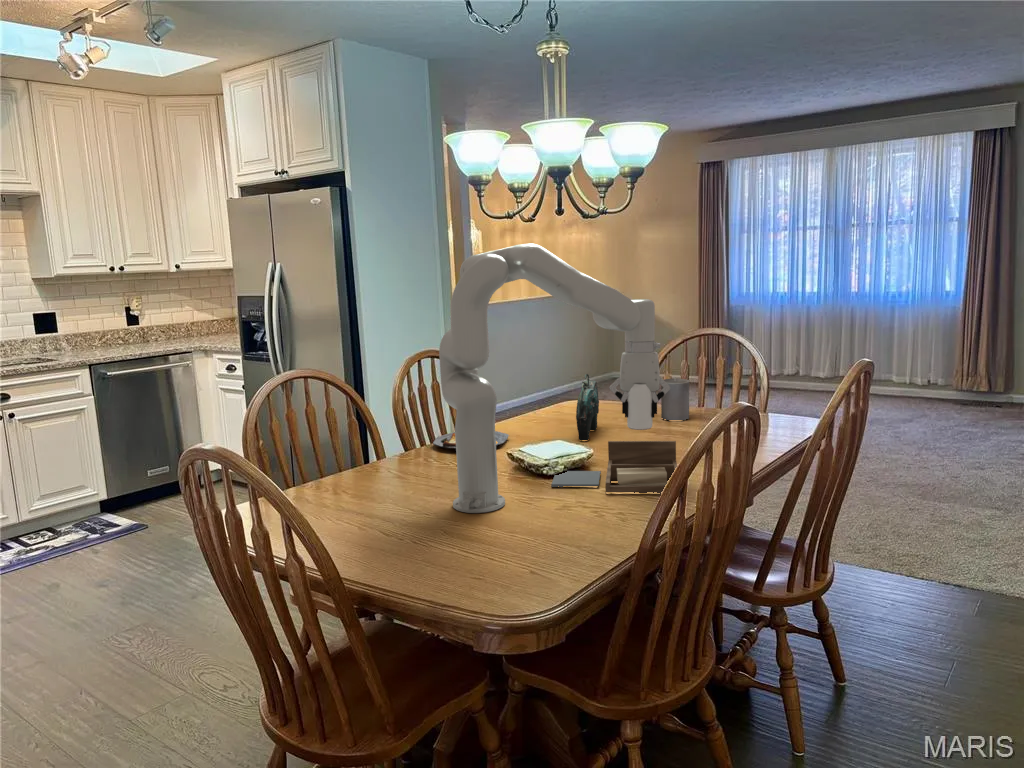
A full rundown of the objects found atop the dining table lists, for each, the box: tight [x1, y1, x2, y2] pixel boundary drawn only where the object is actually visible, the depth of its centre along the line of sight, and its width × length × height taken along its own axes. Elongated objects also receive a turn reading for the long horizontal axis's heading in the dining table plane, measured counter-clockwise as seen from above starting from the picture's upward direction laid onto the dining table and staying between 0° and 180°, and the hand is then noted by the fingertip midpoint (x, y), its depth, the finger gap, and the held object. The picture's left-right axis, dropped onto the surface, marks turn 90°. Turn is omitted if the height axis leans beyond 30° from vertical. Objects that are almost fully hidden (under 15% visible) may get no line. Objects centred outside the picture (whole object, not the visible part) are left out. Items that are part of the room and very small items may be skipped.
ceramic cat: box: [575, 373, 600, 441], centre depth 247 cm, size 20×6×20 cm, turn 164°
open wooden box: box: [605, 440, 678, 494], centre depth 194 cm, size 22×18×8 cm
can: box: [626, 383, 653, 431], centre depth 195 cm, size 6×6×12 cm
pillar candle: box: [660, 377, 690, 421], centre depth 265 cm, size 10×10×15 cm
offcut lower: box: [619, 483, 667, 486], centre depth 190 cm, size 5×12×2 cm, turn 83°
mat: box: [551, 470, 602, 487], centre depth 198 cm, size 12×12×1 cm
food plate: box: [432, 430, 510, 449], centre depth 243 cm, size 25×23×4 cm
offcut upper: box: [617, 467, 667, 485], centre depth 189 cm, size 5×12×2 cm, turn 86°
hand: (639, 416), depth 196 cm, fingers closed on can, 6 cm apart
